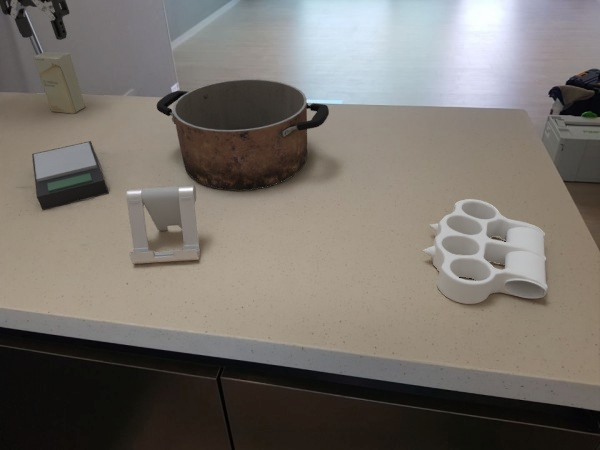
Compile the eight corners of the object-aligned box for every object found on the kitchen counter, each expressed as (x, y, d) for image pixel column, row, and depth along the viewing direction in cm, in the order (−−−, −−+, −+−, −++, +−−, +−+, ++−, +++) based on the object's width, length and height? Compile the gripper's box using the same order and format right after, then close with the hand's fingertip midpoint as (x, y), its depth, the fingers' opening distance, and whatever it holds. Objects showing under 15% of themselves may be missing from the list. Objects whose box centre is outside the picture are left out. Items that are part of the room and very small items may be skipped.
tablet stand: (133, 267, 60) (116, 215, 55) (145, 230, 66) (130, 181, 61) (198, 262, 60) (187, 211, 55) (204, 227, 67) (195, 178, 62)
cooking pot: (340, 140, 88) (342, 86, 81) (308, 204, 71) (307, 141, 64) (200, 124, 95) (191, 73, 89) (140, 178, 78) (124, 120, 72)
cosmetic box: (51, 112, 102) (30, 56, 95) (63, 104, 106) (44, 50, 98) (75, 114, 101) (56, 58, 94) (87, 106, 104) (70, 52, 97)
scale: (37, 166, 83) (30, 150, 81) (94, 152, 86) (89, 137, 84) (42, 210, 71) (35, 193, 69) (108, 192, 75) (103, 176, 73)
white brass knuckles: (542, 324, 51) (410, 291, 55) (539, 231, 64) (433, 210, 68) (551, 303, 49) (414, 270, 53) (546, 211, 62) (436, 191, 66)
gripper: (-35, -52, 83) (3, 41, 93) (29, -52, 80) (61, 44, 89) (-2, -56, 89) (30, 31, 99) (58, -57, 85) (85, 34, 95)
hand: (44, 37), depth 94 cm, fingers open, 8 cm apart
